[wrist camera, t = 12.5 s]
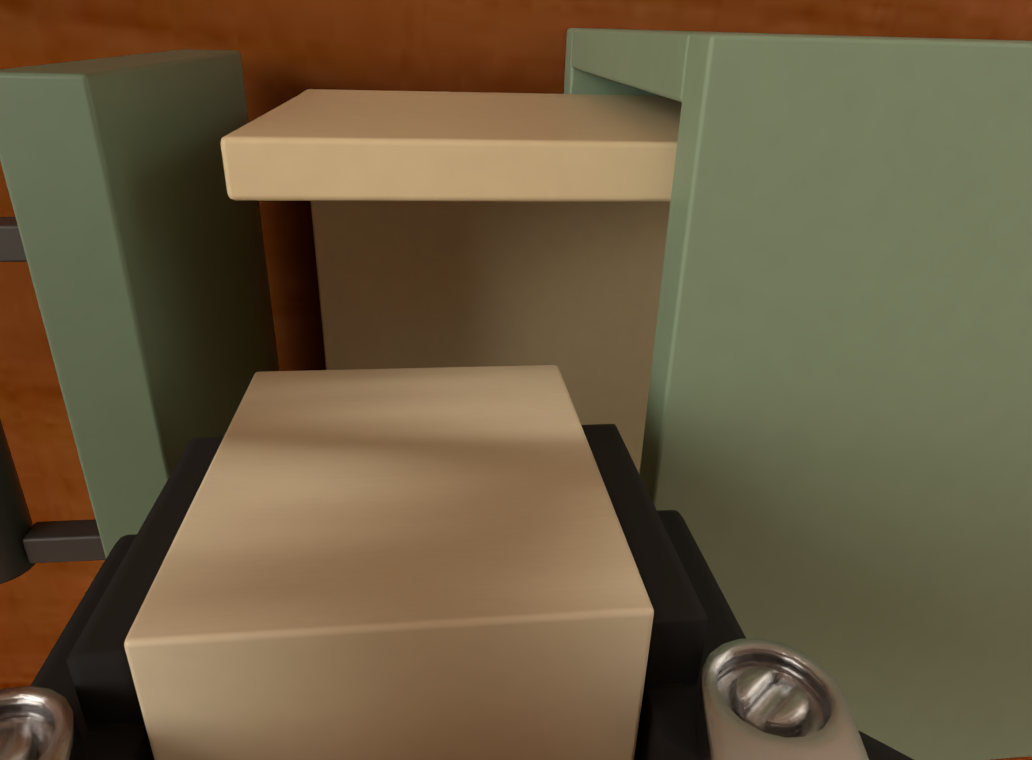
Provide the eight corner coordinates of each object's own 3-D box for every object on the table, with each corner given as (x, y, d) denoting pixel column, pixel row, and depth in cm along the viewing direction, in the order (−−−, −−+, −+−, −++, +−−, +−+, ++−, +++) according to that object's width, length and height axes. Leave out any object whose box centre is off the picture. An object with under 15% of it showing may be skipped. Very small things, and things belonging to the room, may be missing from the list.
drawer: (89, 512, 20) (-96, 779, 13) (-38, 43, 15) (-447, 62, 8) (727, 487, 22) (870, 708, 15) (803, 64, 17) (1069, 93, 10)
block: (287, 608, 12) (204, 959, 7) (254, 369, 10) (119, 642, 6) (546, 593, 12) (614, 914, 8) (558, 363, 11) (656, 610, 6)
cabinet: (543, 494, 22) (615, 792, 14) (566, 27, 17) (711, 34, 8) (995, 476, 24) (1317, 734, 15) (1150, 44, 18) (1788, 63, 10)
